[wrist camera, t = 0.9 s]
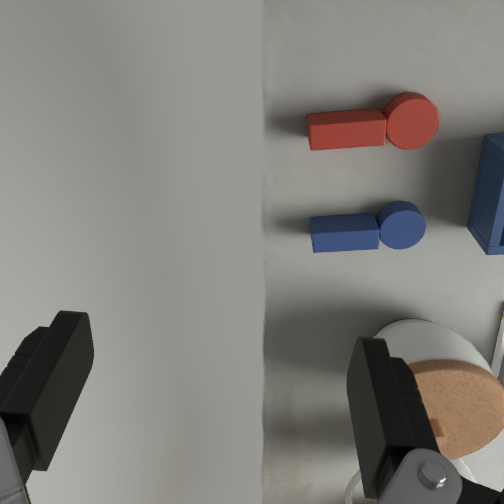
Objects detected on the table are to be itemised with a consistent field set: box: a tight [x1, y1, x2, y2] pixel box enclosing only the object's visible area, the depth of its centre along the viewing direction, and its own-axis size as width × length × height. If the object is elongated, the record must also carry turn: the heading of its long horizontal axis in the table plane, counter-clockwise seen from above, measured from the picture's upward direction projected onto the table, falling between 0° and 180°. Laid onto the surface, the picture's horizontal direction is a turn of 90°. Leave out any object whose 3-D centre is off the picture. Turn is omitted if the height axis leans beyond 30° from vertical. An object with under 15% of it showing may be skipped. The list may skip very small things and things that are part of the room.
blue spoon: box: [310, 202, 426, 253], centre depth 32 cm, size 8×3×2 cm, turn 95°
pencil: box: [491, 311, 504, 379], centre depth 42 cm, size 1×19×1 cm, turn 7°
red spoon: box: [307, 93, 439, 150], centre depth 28 cm, size 8×3×2 cm, turn 95°
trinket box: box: [373, 319, 504, 460], centre depth 36 cm, size 11×11×9 cm
